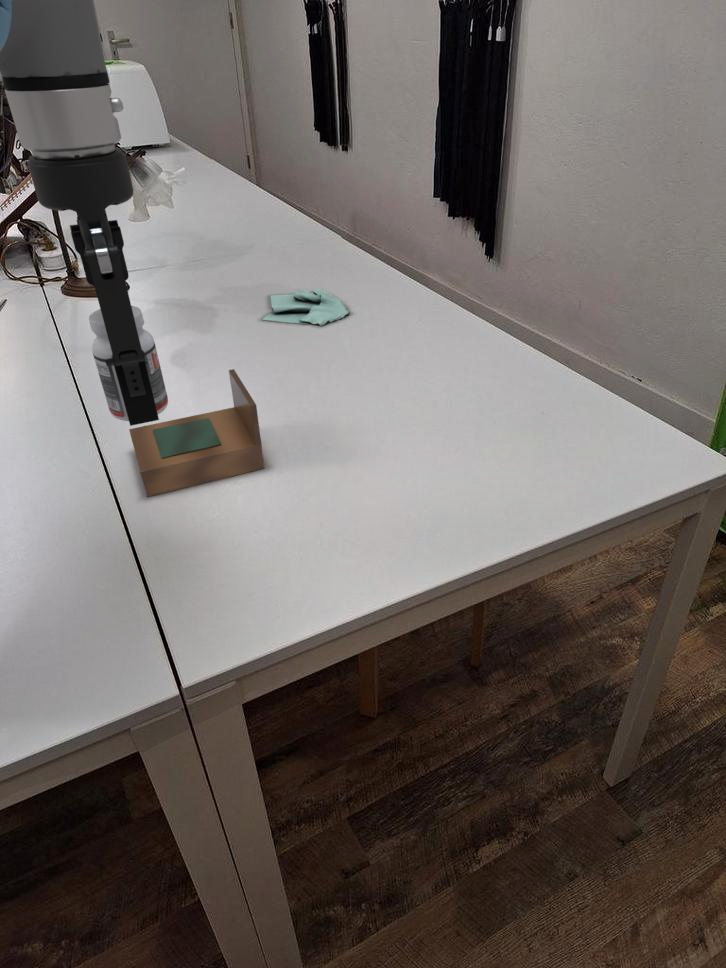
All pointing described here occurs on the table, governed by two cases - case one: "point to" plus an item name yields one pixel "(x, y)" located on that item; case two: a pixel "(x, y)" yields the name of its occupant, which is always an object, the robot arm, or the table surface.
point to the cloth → (306, 308)
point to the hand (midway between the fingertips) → (140, 406)
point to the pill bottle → (108, 373)
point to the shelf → (200, 445)
